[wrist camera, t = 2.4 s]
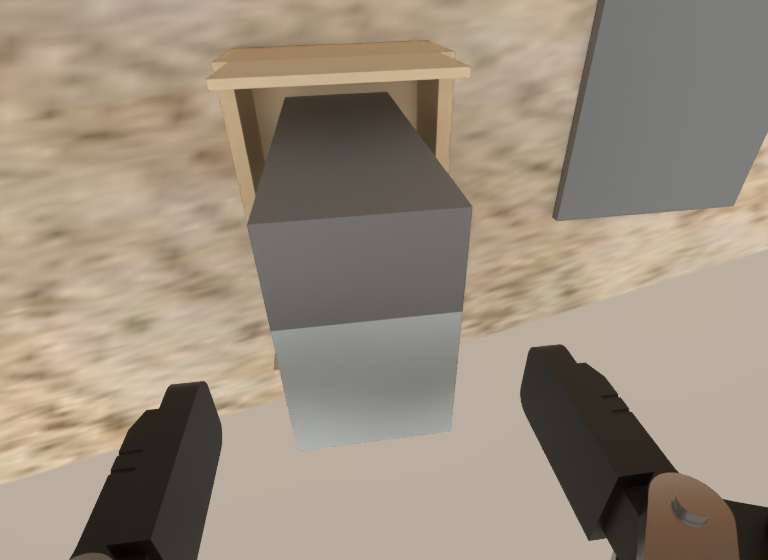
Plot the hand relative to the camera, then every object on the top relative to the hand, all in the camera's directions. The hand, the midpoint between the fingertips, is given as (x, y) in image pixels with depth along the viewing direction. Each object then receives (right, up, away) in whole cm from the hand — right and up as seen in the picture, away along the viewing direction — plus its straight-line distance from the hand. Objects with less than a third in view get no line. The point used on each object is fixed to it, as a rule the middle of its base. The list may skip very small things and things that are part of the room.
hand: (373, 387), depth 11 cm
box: (-2, +8, +12) cm, 15 cm away
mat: (+17, +12, +14) cm, 25 cm away
